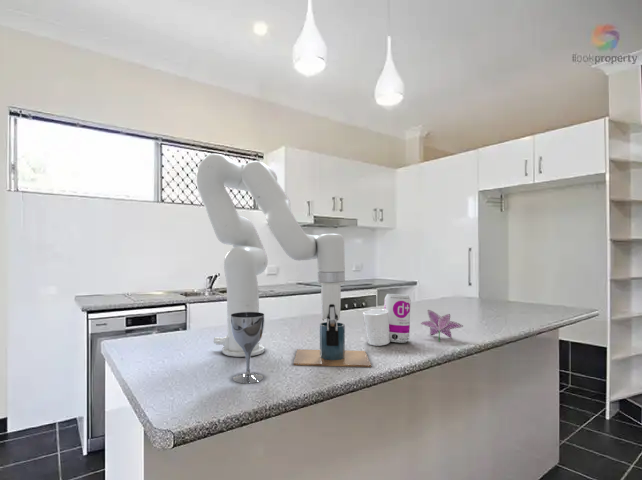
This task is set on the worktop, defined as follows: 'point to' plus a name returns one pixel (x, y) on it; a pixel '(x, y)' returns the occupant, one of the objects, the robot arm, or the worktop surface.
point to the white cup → (377, 326)
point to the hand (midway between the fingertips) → (332, 341)
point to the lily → (440, 324)
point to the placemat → (315, 360)
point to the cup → (332, 351)
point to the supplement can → (398, 316)
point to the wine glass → (247, 339)
